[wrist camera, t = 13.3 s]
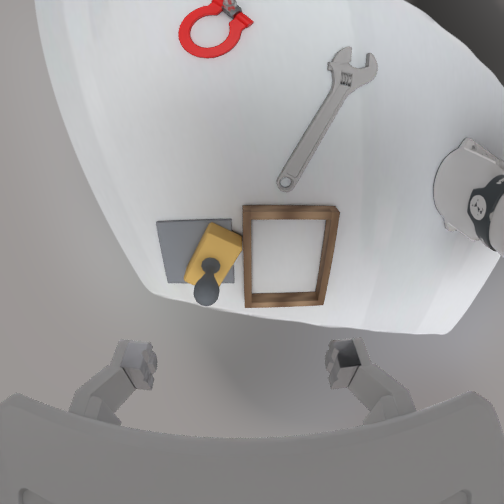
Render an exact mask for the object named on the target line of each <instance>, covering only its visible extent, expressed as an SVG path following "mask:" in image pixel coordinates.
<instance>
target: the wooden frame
mask: <svg viewBox="0 0 504 504" xmlns="http://www.w3.org/2000/svg"><path fill="white" fill-rule="evenodd" d="M339 215H340V212H339V211H338V209H337V208H336V207H335V206H308V205H245V206H243V253H244V294H245V308H263V307H294V306H316V305H323V304H324V300H325V295H326V290H327V285H328V280H329V275H330V269H331V264H332V258H333V253H334V247H335V241H336V235H337V228H338V222H339ZM262 219H319V220H326V225H325V233H324V240H323V247H322V254H321V261H320V267H319V273H318V279H317V285H316V291H315V292H297V293H261V294H252V292H251V220H262Z"/></svg>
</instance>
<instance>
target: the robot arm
mask: <svg viewBox="0 0 504 504" xmlns="http://www.w3.org/2000/svg"><path fill="white" fill-rule="evenodd" d="M472 146H473V147H472ZM434 201H435V205H436V208H437V210H438V211H439V213H440V214H441V215H442V217H443V218H444V223H445V227H446V229H447V230H449V231H450V232H452V231H457V230H458V231H459V232H461V233H462V234H463V235H465V236H466V237H467V238H469V239H470V240H472V241H475V240H481V241H482V242H483V243H484V244H485V245H486V246H487V247H489V248H490V249H492V250H493V251H497V252H498V253H499V254H500V255H501V256H502V257H503V258H504V161H502V160H500V159H498V158H496V157H495V156H494V155H492V154H491V153H490V152H489V151H487V150H486V149H484V148H483V147H482V146H480V145H479V144H478V143H476V142H475V141H473V140H472V139H470V138H465V139H464V141H463V142H462V144H461V145H460V147H459V148H458V149H456V150H455V151H453V152H451V153H450V154H449V155H448V156H447V157H446V158H445V159H444V161H443V162H442V164H441V165H440V167H439V170H438V172H437V175H436V178H435V183H434ZM328 346H329V350H328V351H327V352H326V355H325V366H326V370H327V371H328V372H329V373H330V375H329V377H328V379H329V383H330V387H331V389H339V388H347V387H348V389H349V390H350V391H351V392H352V393H353V394H354V395H355V396H356V397H357V398H358V400H359V401H360V402H361V403H362V404H363V405H364V406H365V407H366V408H367V409H368V410H369V411H370V413H369V414H368V416H367V417H366V418H365V419H364V421H363V424H364V425H362V426H357V427H352V428H347V429H341V430H335V431H329V432H322V433H315V434H306V435H296V436H284V437H269V438H268V437H267V438H213V437H197V436H185V435H175V434H167V433H159V432H152V431H146V430H140V429H134V428H129V427H124V426H121V421H120V419H119V418H118V417H117V416H116V415H115V414H114V413H115V412H116V411H117V410H118V408H119V407H120V406H121V405H122V404H123V403H124V402H125V401H126V400H127V398H128V397H129V396H130V395H131V394H132V393H133V392H134V391H135V389H143V390H152V386H153V382H154V378H153V375H152V374H154V373H155V372H156V369H157V356H156V354H155V352H153V351H152V348H153V346H152V344H151V342H141V341H133V340H124V339H121V340H120V341H119V342H118V345H117V347H116V350H115V353H114V356H113V358H112V361H111V364H110V366H108V365H107V366H106V367H104V368H103V369H102V370H101V371H100V372H98V373H97V374H96V375H95V376H93V377H92V378H91V379H90V380H89V381H87V382H86V383H85V384H84V385H82V386H81V387H80V388H79V389H78V390H76V391H75V394H74V397H73V400H72V402H71V405H70V408H69V411H68V412H67V411H64V410H61V409H58V408H55V407H53V406H50V405H47V404H44V403H42V402H39V401H37V400H34V399H32V398H29V397H27V396H25V395H23V394H20V393H16V394H13V395H11V396H10V397H8V398H7V399H5V400H4V401H2V402H1V403H0V504H504V435H503V431H502V428H501V425H500V422H499V419H498V416H497V414H496V411H495V409H494V407H493V405H492V404H491V402H489V401H488V400H487V399H485V398H484V397H482V396H481V395H479V394H477V393H476V392H474V391H468V392H465V393H463V394H460V395H458V396H456V397H454V398H451V399H448V400H446V401H443V402H441V403H438V404H435V405H433V406H430V407H427V408H424V409H421V410H418V411H416V408H415V405H414V403H413V400H412V397H411V395H410V392H409V390H408V389H407V388H406V387H404V386H403V385H402V384H401V383H399V382H398V381H397V380H395V379H394V378H393V377H392V376H390V375H389V374H388V373H386V372H385V371H384V370H383V369H381V368H380V367H378V366H377V365H376V364H372V362H371V359H370V356H369V354H368V351H367V349H366V346H365V343H364V341H363V339H362V338H361V337H359V338H349V339H340V340H331V341H330V342H329V345H328Z"/></svg>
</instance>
